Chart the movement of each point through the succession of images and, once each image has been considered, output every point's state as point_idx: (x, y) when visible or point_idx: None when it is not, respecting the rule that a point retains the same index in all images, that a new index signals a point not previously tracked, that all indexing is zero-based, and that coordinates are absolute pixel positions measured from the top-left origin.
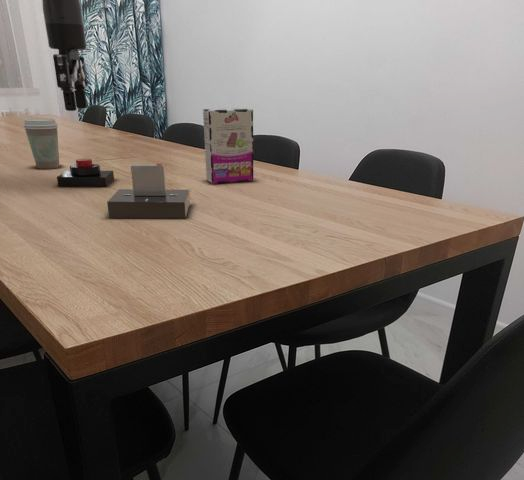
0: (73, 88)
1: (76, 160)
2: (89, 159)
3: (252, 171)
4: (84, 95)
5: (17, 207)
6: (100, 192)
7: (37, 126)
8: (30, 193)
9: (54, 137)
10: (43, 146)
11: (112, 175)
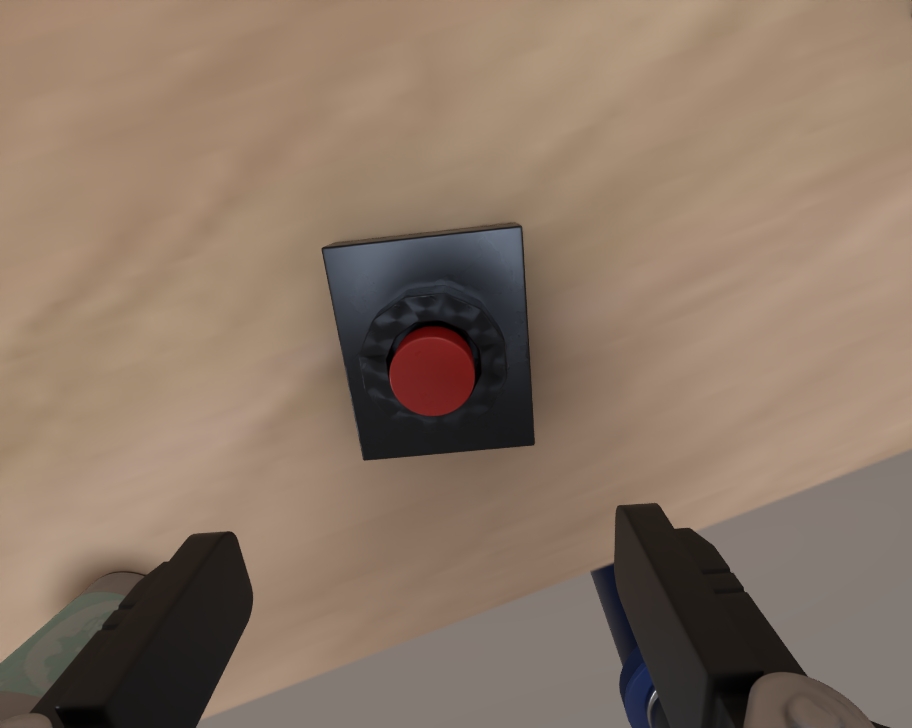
0: (824, 703)
1: (462, 404)
2: (422, 349)
3: None
4: (150, 639)
5: (889, 424)
6: (633, 212)
7: None
8: (654, 473)
9: (32, 681)
10: None
11: (356, 242)
